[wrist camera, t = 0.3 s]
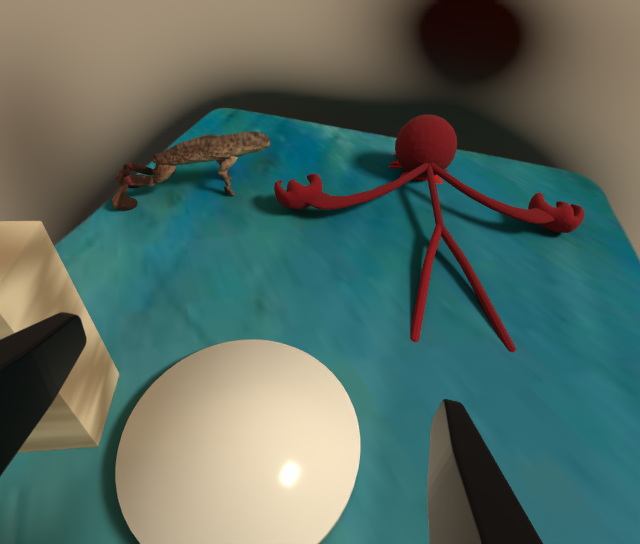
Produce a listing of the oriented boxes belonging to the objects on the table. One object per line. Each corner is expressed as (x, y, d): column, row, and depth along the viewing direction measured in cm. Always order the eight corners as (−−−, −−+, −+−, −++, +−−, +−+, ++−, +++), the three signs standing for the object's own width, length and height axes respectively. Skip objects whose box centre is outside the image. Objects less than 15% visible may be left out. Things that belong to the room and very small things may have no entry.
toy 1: (180, 251, 46) (285, 162, 42) (105, 203, 40) (219, 94, 36) (179, 221, 50) (275, 137, 46) (110, 174, 44) (214, 72, 40)
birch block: (98, 446, 25) (-11, 299, 16) (8, 453, 24) (-158, 304, 15) (119, 374, 28) (40, 220, 19) (41, 378, 28) (-76, 222, 19)
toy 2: (630, 384, 34) (531, 164, 53) (697, 340, 29) (560, 110, 47) (252, 361, 34) (287, 149, 53) (242, 312, 29) (285, 94, 47)
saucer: (328, 627, 19) (330, 623, 18) (65, 537, 21) (56, 530, 20) (374, 376, 29) (376, 366, 28) (192, 330, 31) (189, 320, 30)
